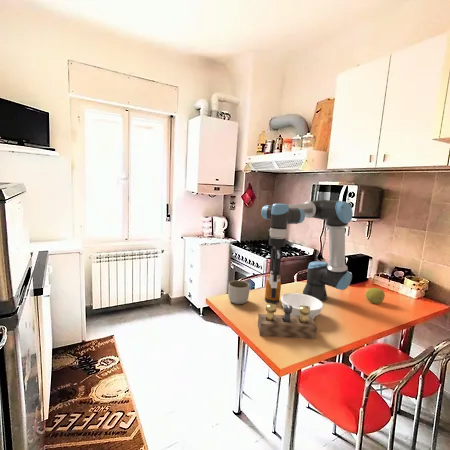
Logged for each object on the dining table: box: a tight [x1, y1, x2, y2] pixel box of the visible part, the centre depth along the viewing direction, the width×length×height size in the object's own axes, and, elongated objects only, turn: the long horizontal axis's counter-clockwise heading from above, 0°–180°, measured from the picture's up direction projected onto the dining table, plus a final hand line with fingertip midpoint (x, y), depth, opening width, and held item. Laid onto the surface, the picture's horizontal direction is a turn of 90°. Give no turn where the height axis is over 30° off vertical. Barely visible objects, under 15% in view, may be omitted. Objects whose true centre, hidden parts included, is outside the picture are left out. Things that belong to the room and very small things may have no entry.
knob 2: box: [299, 306, 310, 324], centre depth 129 cm, size 5×5×9 cm
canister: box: [264, 274, 282, 304], centre depth 164 cm, size 9×11×20 cm
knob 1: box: [265, 302, 277, 321], centre depth 129 cm, size 5×5×9 cm
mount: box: [257, 313, 318, 340], centre depth 130 cm, size 26×10×6 cm, turn 89°
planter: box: [227, 280, 251, 305], centre depth 162 cm, size 12×12×11 cm
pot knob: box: [283, 305, 292, 322], centre depth 129 cm, size 4×4×10 cm
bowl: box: [280, 292, 324, 321], centre depth 149 cm, size 22×22×8 cm
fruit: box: [365, 287, 385, 305], centre depth 173 cm, size 10×11×10 cm
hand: (273, 285), depth 127 cm, fingers open, 4 cm apart
